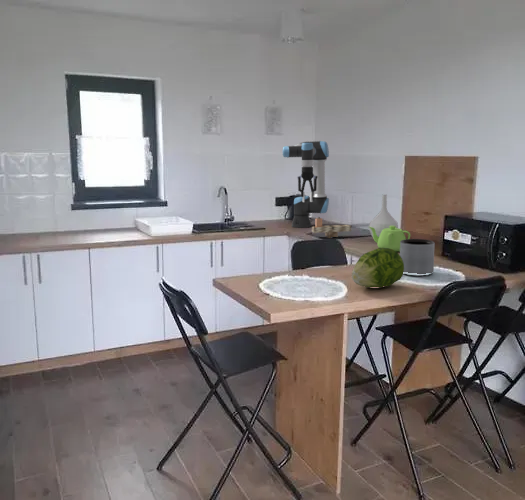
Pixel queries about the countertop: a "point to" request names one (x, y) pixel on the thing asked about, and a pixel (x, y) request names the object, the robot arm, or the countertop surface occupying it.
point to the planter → (417, 255)
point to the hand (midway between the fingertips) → (307, 201)
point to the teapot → (390, 237)
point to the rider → (318, 222)
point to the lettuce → (378, 268)
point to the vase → (382, 219)
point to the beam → (331, 230)
